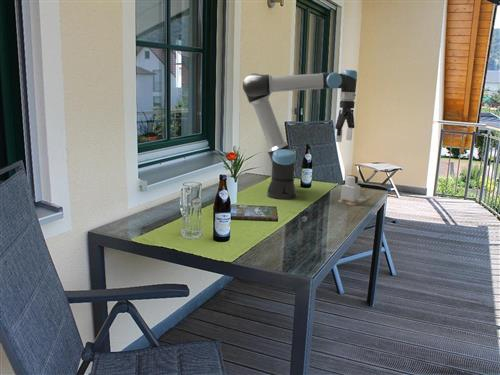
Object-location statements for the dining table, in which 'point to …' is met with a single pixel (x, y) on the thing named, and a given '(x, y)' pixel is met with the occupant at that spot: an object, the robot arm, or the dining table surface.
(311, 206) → the dining table surface
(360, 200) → the coaster board
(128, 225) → the dining table surface
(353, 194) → the medicine bottle
